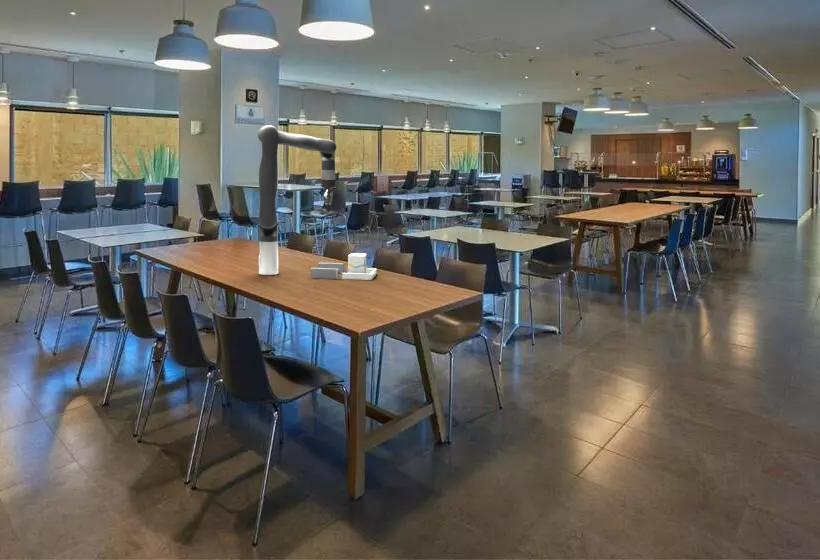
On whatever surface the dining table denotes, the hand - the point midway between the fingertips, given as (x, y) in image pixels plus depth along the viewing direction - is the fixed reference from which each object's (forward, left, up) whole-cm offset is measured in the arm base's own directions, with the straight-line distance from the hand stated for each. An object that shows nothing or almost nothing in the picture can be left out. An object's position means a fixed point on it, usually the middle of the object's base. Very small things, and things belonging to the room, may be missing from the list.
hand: (328, 211), depth 322 cm
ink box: (+18, -14, -32) cm, 40 cm away
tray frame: (+19, -14, -32) cm, 40 cm away
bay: (+3, -14, -32) cm, 35 cm away
